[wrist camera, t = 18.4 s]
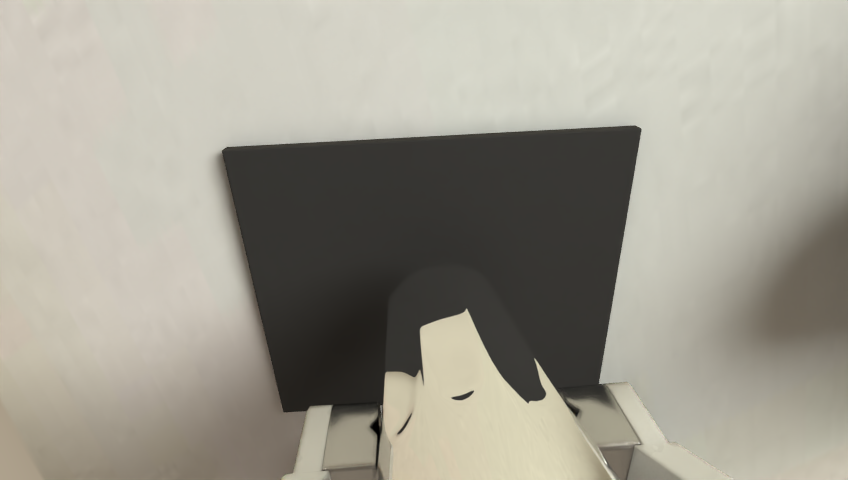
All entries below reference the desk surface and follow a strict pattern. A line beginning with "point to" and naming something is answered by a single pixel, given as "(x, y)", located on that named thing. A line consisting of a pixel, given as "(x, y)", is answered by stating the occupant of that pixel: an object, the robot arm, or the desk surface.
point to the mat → (430, 244)
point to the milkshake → (471, 390)
